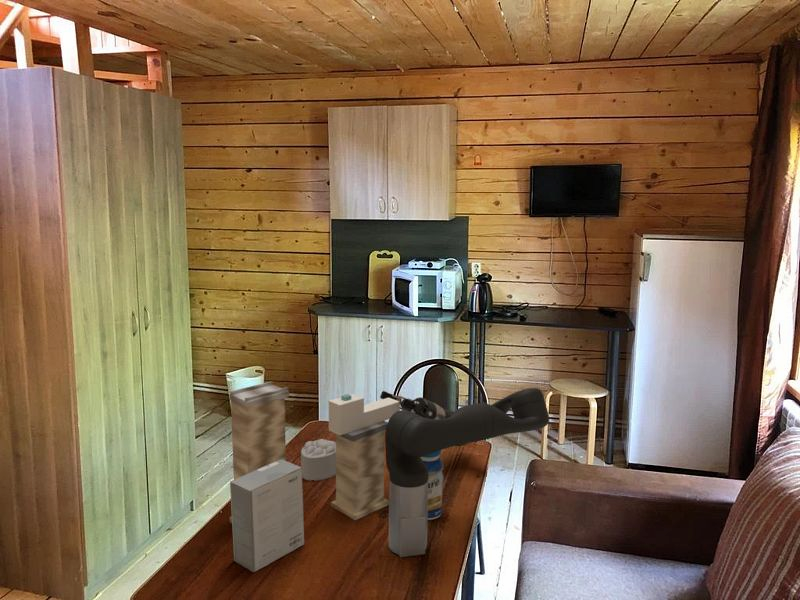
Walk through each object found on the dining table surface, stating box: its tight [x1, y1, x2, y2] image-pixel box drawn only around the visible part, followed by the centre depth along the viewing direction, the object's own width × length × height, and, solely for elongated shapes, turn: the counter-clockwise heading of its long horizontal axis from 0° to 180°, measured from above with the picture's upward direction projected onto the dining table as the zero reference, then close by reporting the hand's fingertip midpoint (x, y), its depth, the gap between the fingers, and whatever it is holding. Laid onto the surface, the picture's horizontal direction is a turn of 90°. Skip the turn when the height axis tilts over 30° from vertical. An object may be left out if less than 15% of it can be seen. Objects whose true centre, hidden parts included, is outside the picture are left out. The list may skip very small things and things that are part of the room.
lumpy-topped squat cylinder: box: [300, 438, 336, 481], centre depth 197 cm, size 10×13×9 cm
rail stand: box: [229, 380, 290, 524], centre depth 166 cm, size 13×9×35 cm
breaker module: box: [328, 393, 401, 435], centre depth 174 cm, size 21×4×9 cm, turn 134°
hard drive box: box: [229, 459, 305, 573], centre depth 153 cm, size 16×8×20 cm, turn 141°
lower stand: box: [329, 420, 389, 521], centre depth 175 cm, size 13×10×23 cm
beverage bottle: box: [420, 450, 444, 521], centre depth 172 cm, size 8×8×20 cm
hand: (392, 398), depth 181 cm, fingers open, 8 cm apart
